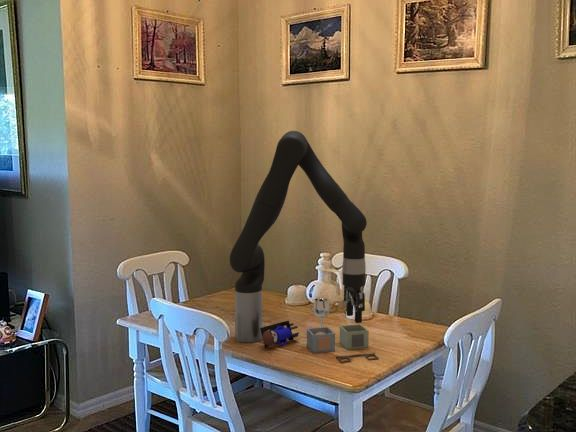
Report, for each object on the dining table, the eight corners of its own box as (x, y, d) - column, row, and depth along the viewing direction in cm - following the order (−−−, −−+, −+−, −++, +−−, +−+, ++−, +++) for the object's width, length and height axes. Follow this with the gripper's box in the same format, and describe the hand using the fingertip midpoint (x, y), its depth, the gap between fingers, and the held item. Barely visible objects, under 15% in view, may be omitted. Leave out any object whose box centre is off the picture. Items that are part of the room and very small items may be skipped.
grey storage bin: (313, 353, 194) (312, 335, 193) (306, 345, 202) (306, 328, 201) (335, 351, 196) (335, 333, 195) (328, 344, 203) (328, 326, 203)
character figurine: (302, 343, 206) (268, 353, 196) (288, 336, 211) (254, 346, 201) (303, 321, 204) (269, 330, 195) (289, 315, 210) (255, 324, 200)
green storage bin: (347, 350, 197) (347, 332, 196) (339, 343, 204) (339, 325, 204) (368, 348, 198) (368, 330, 198) (360, 341, 206) (360, 324, 205)
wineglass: (328, 335, 213) (328, 302, 211) (312, 334, 214) (311, 301, 212) (330, 330, 218) (330, 297, 217) (314, 329, 219) (314, 297, 218)
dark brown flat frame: (339, 363, 186) (339, 361, 186) (335, 358, 190) (335, 356, 190) (379, 359, 189) (379, 357, 188) (374, 354, 193) (374, 352, 193)
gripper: (372, 274, 192) (372, 324, 194) (357, 266, 206) (357, 312, 208) (350, 276, 191) (350, 326, 193) (336, 267, 205) (336, 314, 206)
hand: (353, 319), depth 200 cm, fingers open, 8 cm apart
